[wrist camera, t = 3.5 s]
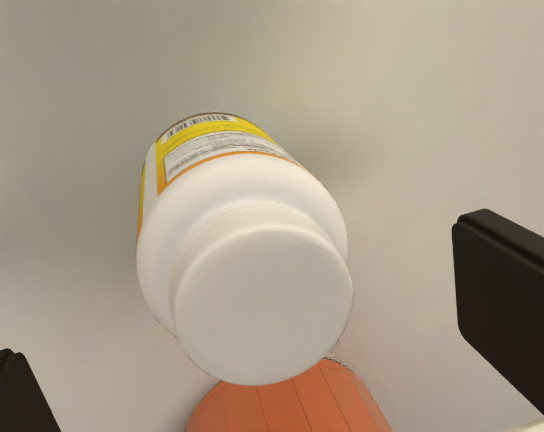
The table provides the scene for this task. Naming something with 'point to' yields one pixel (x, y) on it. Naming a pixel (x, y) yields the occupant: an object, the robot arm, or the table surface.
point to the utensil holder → (292, 405)
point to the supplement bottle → (240, 251)
